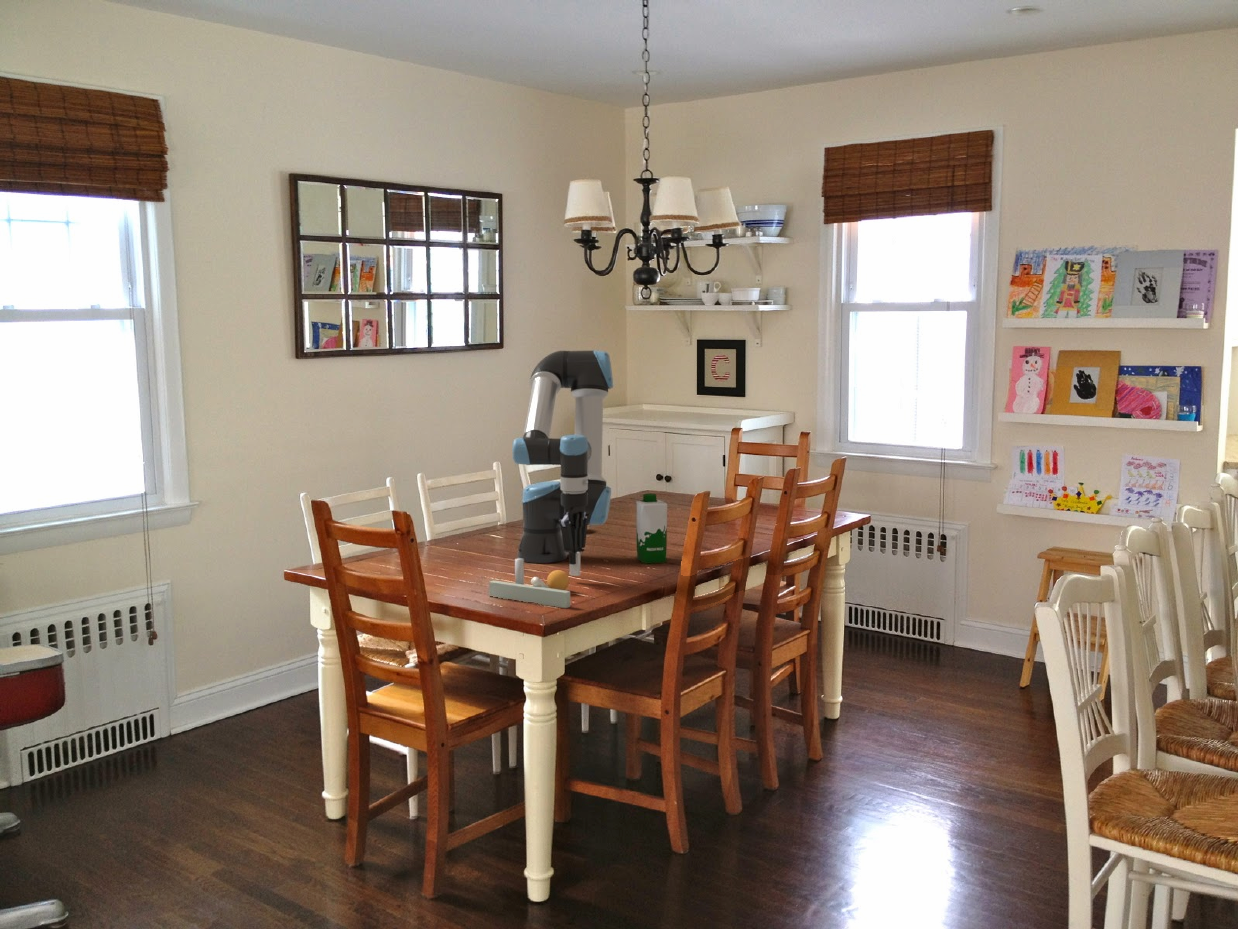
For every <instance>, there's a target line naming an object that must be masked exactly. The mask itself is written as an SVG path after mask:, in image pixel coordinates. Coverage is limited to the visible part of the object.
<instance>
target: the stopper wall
mask: <svg viewBox="0 0 1238 929" xmlns="http://www.w3.org/2000/svg"><path fill="white" fill-rule="evenodd" d="M488 596H493V597H492V598H494V597H498V598H497V599H501V598H503V600H508V599H514V600H519V601H518V602H521V601H523V603H528V602H534V603H538V604H537V605H541V604H542V606H543V605H544V606H548V607H549V606H550V607H554V606H555V608H562V609H568V608H570V607H571V590H566V589H565V590H558V589H551V588H544V587H537V586H533V585H530V584H529V585H528V584H524V585H522V584H515V582H507V581H500V580H490V581H488ZM514 600H513V601H514ZM534 603H533V604H534Z"/></svg>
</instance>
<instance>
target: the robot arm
mask: <svg viewBox="0 0 1238 929" xmlns="http://www.w3.org/2000/svg"><path fill="white" fill-rule="evenodd" d="M611 362H612V361H611V357H610V355H609V353H608V352H607V351H602V350H595V349H594V350H593V349H592V350H557V351H554V352H552V353H549V354H548V355H546V356H545V357H543V358H542V359H541V360H540V361H539V362H538V363H537V364H536V366H535V367H534V368H533V371H532V373H531V375H530V378H529V379H530V380H529V388H530V390H531V392H530V398H529V401H528V402H529V403H528V408H527V412H526V418H525V424H524V429H523V434H522V437H517V438H514V440H513V442H512V460H513V462H514V463H515V464H517V465H526V466H530V465H531V466H532V465H533V466H539V465H540V466H541V465H542V466H547V465H548V466H551V465H552V466H560V480H559V481H558V480H557V481H556V480H555V481H553V480H549V481H542V482H537V483H533V484H528V485H527V486H525V487H524V489H523V491H522V501H521V502H522V503H521V504H522V531H523V532H522V536H521V540H520V542H519V547H518V549H517V558H523V559H524V563H525V562H526V563H534V564H550V563H557V562H563V561H565V560H567V559H568V566H569V567H568V568H569V571H568V572H569V575H568V576H573V577H574V576H576V577H579V576H581V553H583V552H585V549H584V548H585V547H586V543H587V542H586V540H587V534H588V526H590V527H591V526H601V525H604V524H605V523H606V521H607V520H608V516H609V512H610V508H611V507H610V505H611V498H612V497H611V495H612V488H611V487H609V486H607V480H606V479H605V478H604V477H603V475H602V472H603V471H602V468H603V467H602V466H603V431H604V430H603V428H604V427H603V425H604V422H603V421H604V400H605V398H607V396H609V390H611V389H613V388H614V381H613V380H614V378H613V371H612V370H613V369H612V363H611ZM561 389H570V395H571V396H572V397H573V398H574V400H575V404H574V405H575V406H574V407H575V408H574V434H567V435H563V436H561V437H560V438H552V437H551V438H550V434H551V429H552V422H553V417H554V409H555V404H556V398H557V394H558V393H560V390H561Z"/></svg>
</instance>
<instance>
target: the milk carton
mask: <svg viewBox="0 0 1238 929" xmlns="http://www.w3.org/2000/svg"><path fill="white" fill-rule="evenodd" d="M635 504H636V556H637V557H636V558H637V559H638V561H640V562H641V563H643V564H659V563H667V551H668V550H667V548H668V547H667V545H668V544H667V542H668V537H667V536H668V530H667V529H668V526H667V525H668V503H666V502H665V501H663V500H660V499H657V494H656V493H644V494H642V500H641V499H640V500H636V503H635Z"/></svg>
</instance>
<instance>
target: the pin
mask: <svg viewBox="0 0 1238 929" xmlns="http://www.w3.org/2000/svg"><path fill="white" fill-rule="evenodd" d="M530 584H531V586H537V587H544V588H550V587H549V586H548V584H547V583H545V582H544V581H543V580H542V579H541V578H539V576H533V578H531V579H530Z"/></svg>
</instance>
